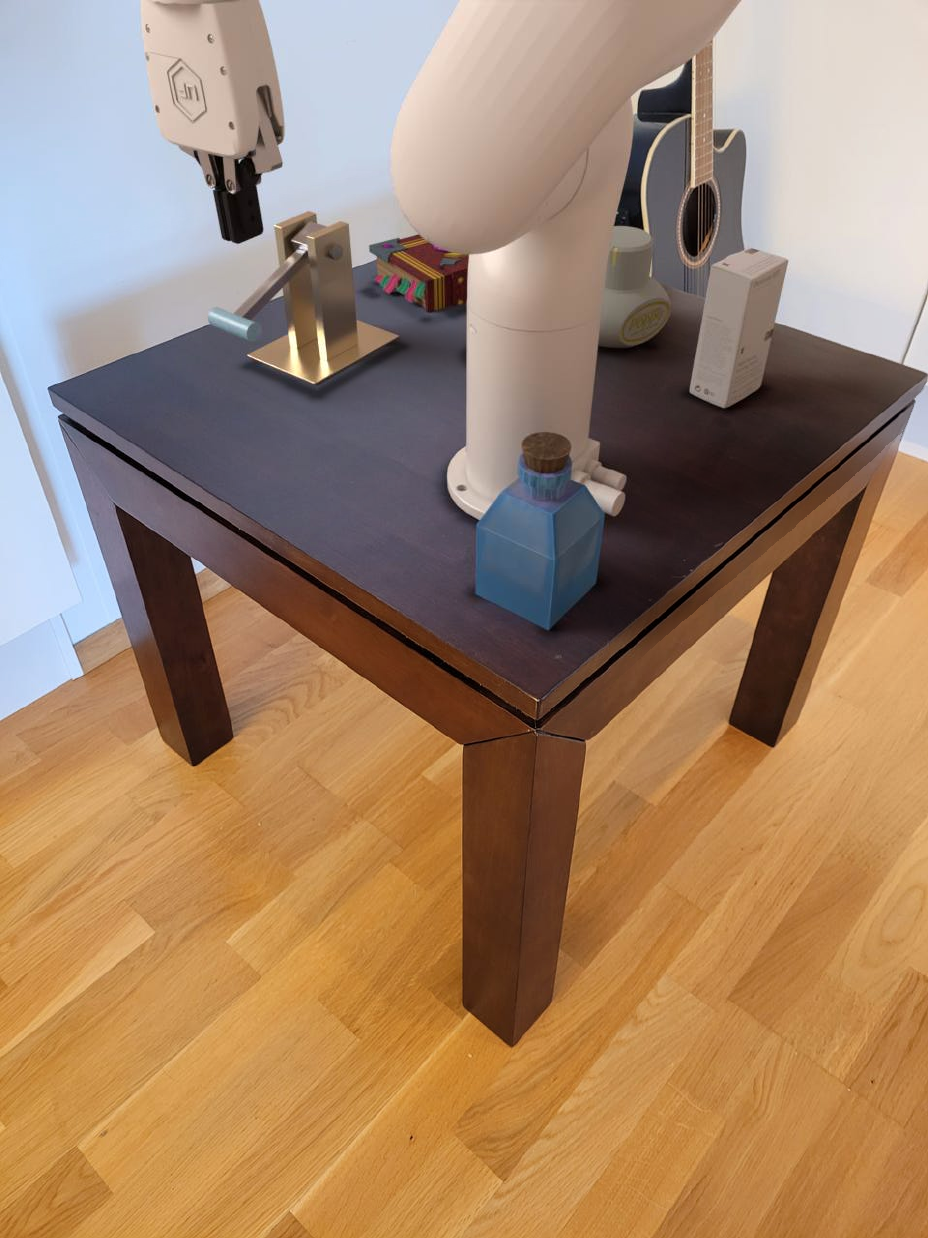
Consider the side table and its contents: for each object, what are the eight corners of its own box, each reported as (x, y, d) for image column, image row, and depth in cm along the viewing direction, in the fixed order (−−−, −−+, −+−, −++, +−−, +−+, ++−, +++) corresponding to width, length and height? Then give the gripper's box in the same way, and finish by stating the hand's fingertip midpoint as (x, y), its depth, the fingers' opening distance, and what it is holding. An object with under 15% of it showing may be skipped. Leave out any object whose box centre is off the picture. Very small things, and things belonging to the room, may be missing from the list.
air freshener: (602, 367, 91) (614, 265, 85) (544, 336, 96) (550, 237, 89) (678, 334, 96) (695, 235, 90) (619, 306, 101) (631, 210, 94)
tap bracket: (315, 395, 88) (299, 258, 79) (248, 366, 92) (226, 232, 83) (400, 346, 94) (393, 215, 86) (334, 321, 98) (321, 194, 90)
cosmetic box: (726, 410, 86) (754, 280, 77) (685, 393, 88) (708, 264, 80) (763, 386, 89) (794, 258, 80) (722, 370, 91) (748, 244, 83)
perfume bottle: (548, 630, 65) (561, 485, 56) (475, 594, 67) (477, 450, 59) (595, 583, 68) (614, 440, 60) (525, 550, 71) (533, 409, 63)
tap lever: (253, 349, 82) (242, 328, 80) (214, 333, 84) (202, 312, 82) (347, 252, 86) (339, 229, 84) (307, 238, 88) (298, 216, 86)
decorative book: (540, 287, 105) (543, 241, 101) (419, 325, 98) (417, 278, 94) (479, 253, 111) (480, 210, 108) (362, 287, 104) (358, 242, 101)
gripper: (85, -31, 67) (149, 232, 79) (229, -13, 60) (274, 272, 72) (168, -46, 71) (216, 206, 84) (311, -30, 64) (341, 241, 77)
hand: (243, 236), depth 78 cm, fingers closed
